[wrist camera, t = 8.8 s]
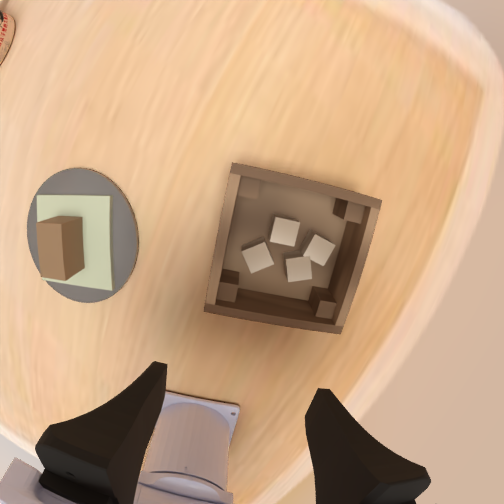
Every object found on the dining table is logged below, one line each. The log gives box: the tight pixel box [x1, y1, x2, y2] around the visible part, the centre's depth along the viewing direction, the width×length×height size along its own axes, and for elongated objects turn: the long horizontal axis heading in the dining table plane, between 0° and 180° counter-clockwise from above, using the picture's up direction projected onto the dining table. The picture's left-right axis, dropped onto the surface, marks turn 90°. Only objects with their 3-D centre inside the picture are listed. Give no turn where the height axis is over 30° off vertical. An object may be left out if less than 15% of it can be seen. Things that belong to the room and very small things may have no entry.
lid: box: [36, 194, 115, 291], centre depth 19 cm, size 7×7×4 cm
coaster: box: [27, 168, 139, 303], centre depth 21 cm, size 11×11×1 cm
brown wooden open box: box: [204, 163, 382, 334], centre depth 20 cm, size 9×9×4 cm
